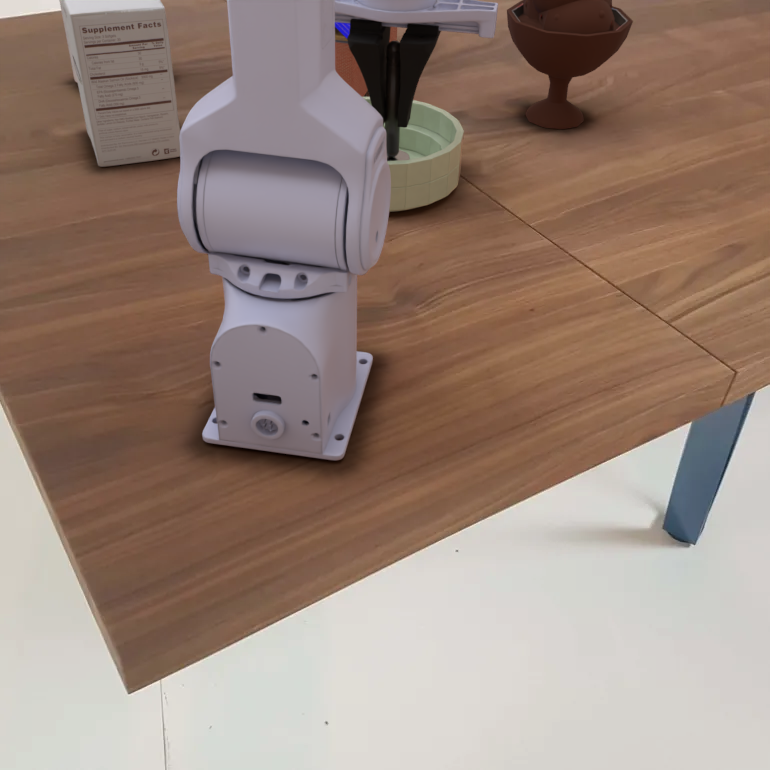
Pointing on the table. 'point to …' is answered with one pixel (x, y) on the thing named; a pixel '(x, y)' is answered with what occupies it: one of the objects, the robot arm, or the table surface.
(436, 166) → the bowl
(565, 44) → the ice cream bowl
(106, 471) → the table surface
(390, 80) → the pen in desk stand
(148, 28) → the white packaging box
